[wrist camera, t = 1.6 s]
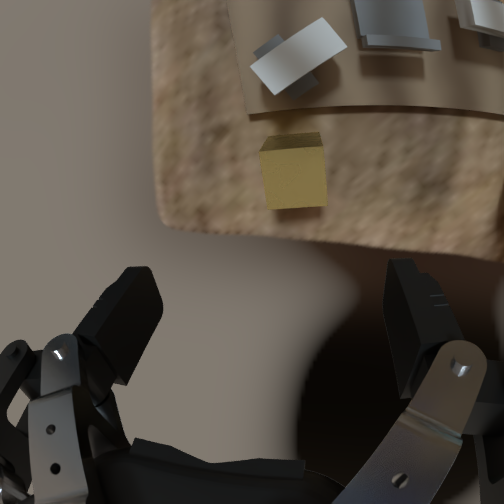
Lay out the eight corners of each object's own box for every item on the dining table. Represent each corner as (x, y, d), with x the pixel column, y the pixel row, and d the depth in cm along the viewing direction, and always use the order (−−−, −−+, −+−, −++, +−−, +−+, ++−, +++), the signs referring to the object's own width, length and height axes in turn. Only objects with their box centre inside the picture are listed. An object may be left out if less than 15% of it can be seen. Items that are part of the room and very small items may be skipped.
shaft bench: (480, -42, 11) (509, -56, 6) (506, 114, 19) (541, 126, 14) (218, -53, 16) (197, -78, 11) (249, 113, 25) (234, 121, 20)
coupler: (319, 131, 25) (323, 146, 20) (323, 179, 27) (327, 205, 22) (268, 136, 25) (258, 151, 20) (275, 183, 28) (267, 209, 23)
